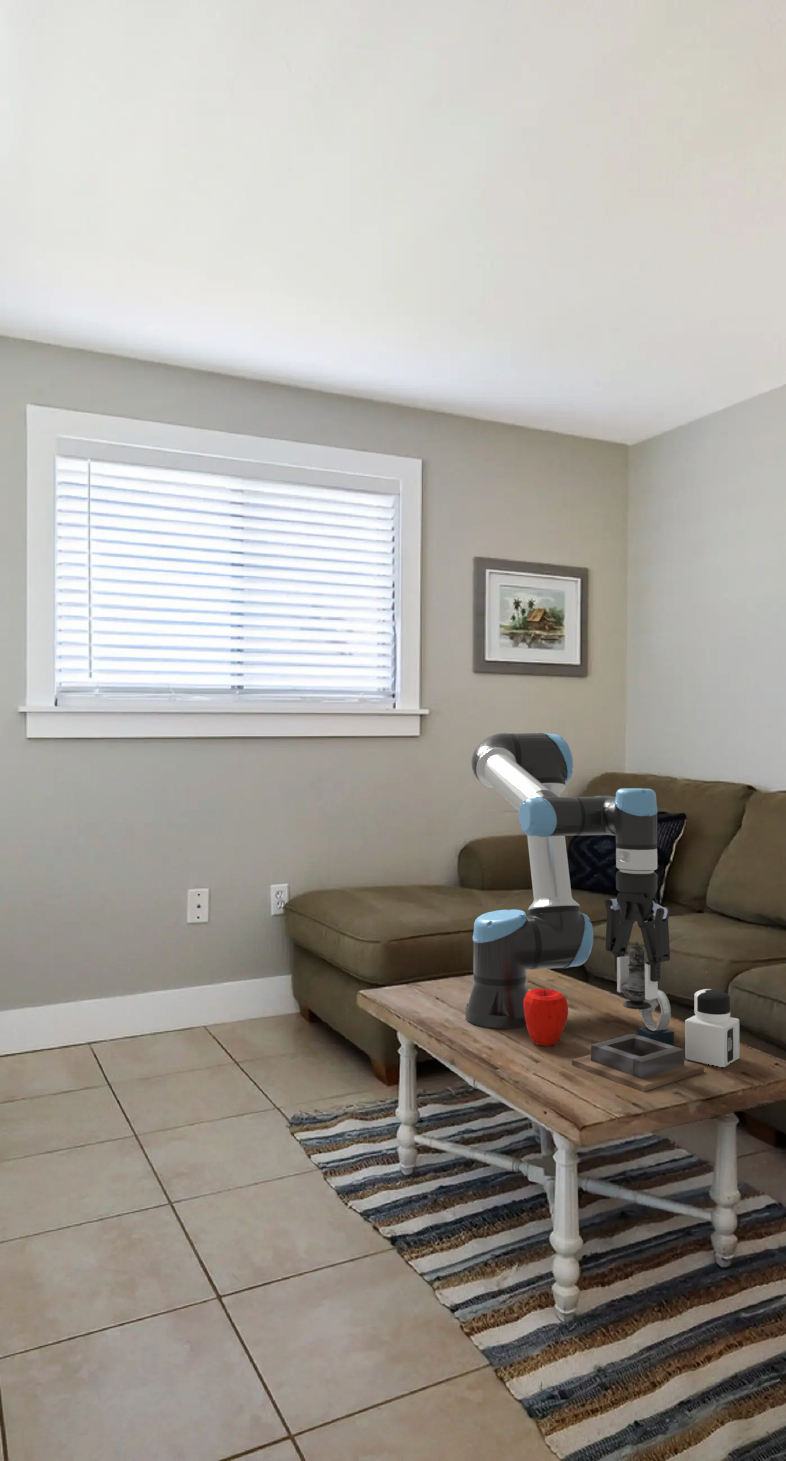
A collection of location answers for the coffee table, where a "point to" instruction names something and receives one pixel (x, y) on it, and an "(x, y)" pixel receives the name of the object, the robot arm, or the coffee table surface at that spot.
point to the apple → (545, 1015)
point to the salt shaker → (635, 980)
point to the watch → (659, 1030)
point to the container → (712, 1030)
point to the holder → (638, 1062)
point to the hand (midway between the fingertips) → (637, 994)
